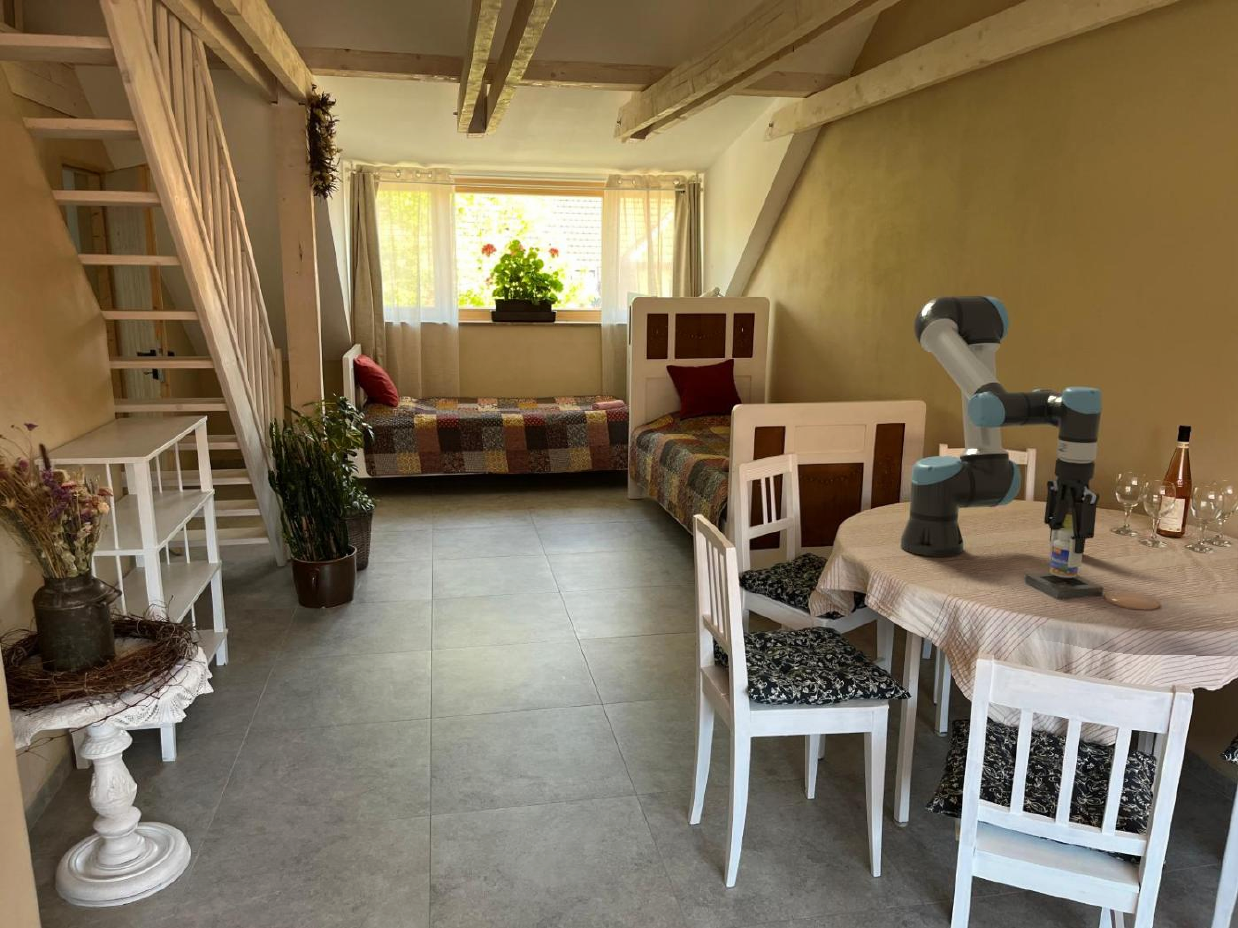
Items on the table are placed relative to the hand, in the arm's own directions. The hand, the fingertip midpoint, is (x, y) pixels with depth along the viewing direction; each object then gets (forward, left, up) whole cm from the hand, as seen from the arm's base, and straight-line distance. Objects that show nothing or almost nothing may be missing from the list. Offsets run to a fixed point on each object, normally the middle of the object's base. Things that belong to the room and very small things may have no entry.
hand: (1064, 561), depth 195 cm
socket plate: (0, 0, -6) cm, 6 cm away
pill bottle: (0, 0, -3) cm, 3 cm away
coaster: (+10, +9, -6) cm, 15 cm away
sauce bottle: (-23, +19, -6) cm, 30 cm away
